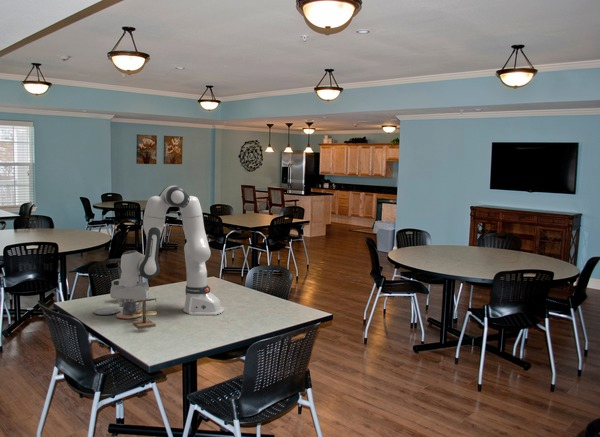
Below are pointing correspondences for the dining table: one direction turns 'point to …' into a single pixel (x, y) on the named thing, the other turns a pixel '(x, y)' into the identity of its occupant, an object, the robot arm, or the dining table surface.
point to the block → (128, 308)
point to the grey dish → (106, 310)
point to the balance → (144, 322)
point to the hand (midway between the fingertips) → (129, 307)
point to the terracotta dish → (125, 316)
